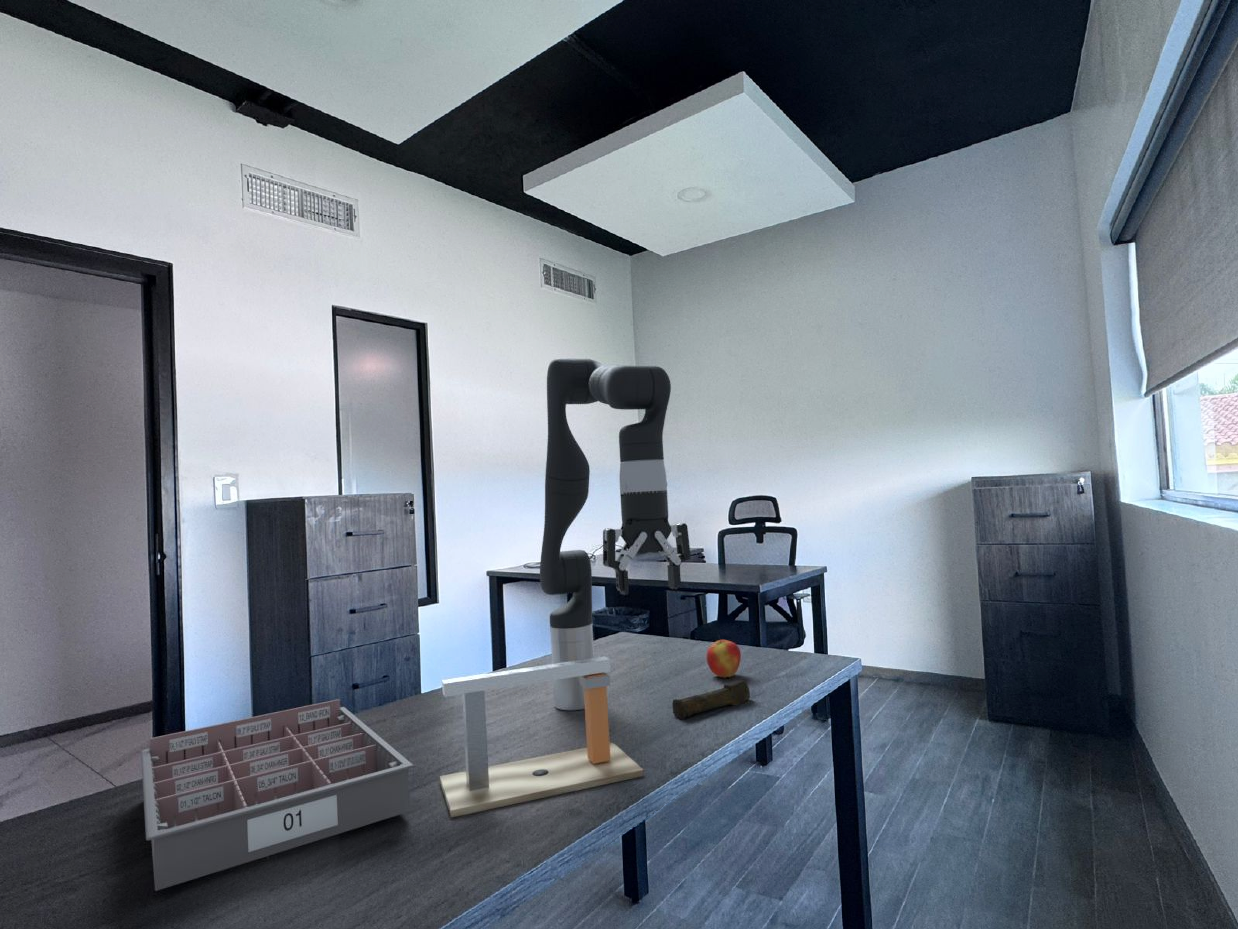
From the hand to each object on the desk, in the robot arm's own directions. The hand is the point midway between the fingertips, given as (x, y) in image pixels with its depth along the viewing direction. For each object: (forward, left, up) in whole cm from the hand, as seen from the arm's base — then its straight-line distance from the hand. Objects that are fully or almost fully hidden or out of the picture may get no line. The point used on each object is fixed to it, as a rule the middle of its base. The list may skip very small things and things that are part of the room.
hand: (649, 591), depth 111 cm
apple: (-47, +38, -29) cm, 67 cm away
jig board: (-9, -17, -29) cm, 35 cm away
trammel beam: (-9, -18, -28) cm, 35 cm away
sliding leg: (-9, -7, -28) cm, 30 cm away
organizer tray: (-19, -57, -30) cm, 67 cm away
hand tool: (-27, +24, -30) cm, 47 cm away
